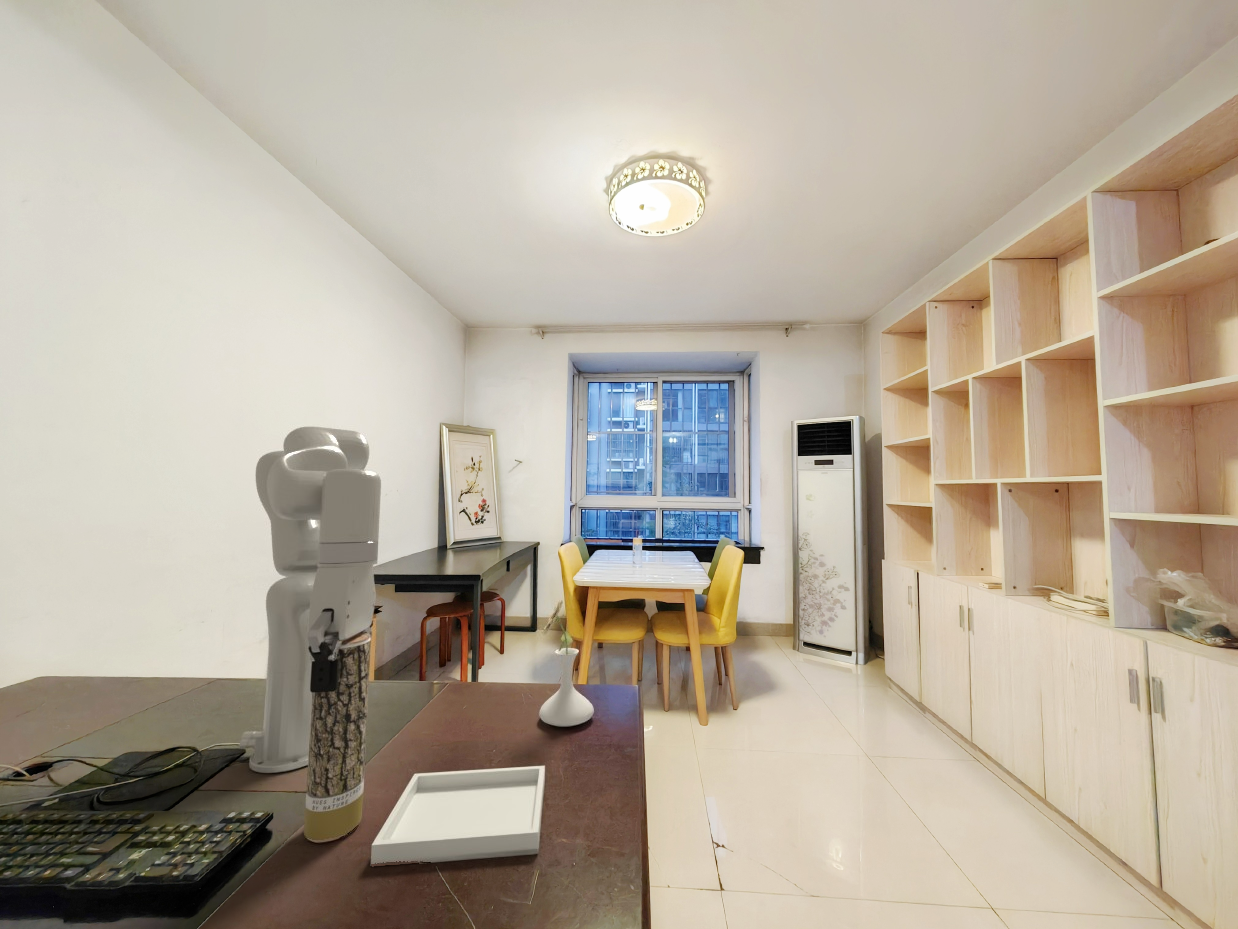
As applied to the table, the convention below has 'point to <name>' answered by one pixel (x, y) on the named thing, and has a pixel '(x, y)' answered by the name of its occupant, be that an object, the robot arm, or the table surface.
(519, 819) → the tray
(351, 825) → the paper tube
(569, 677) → the flower in vase
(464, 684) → the table surface
